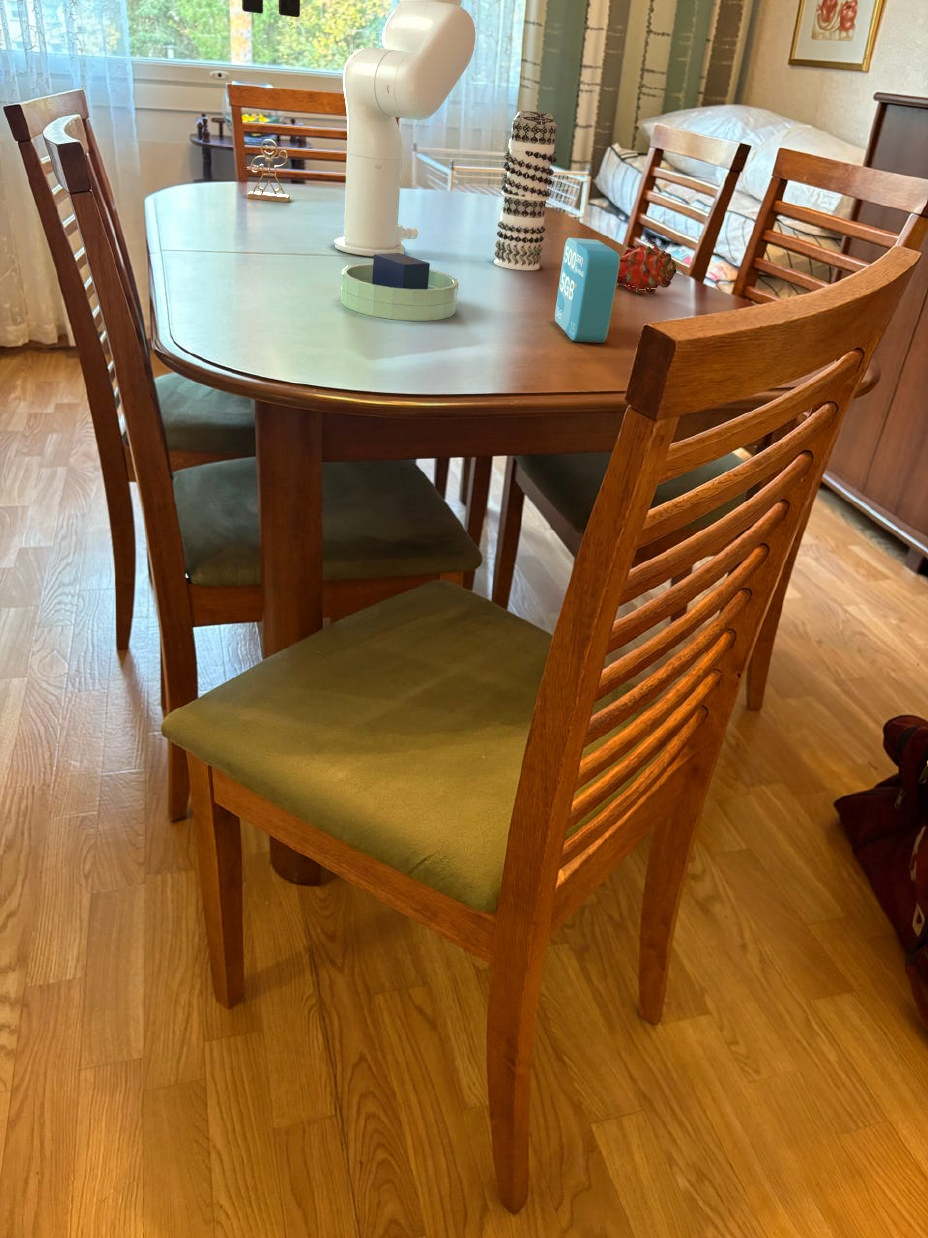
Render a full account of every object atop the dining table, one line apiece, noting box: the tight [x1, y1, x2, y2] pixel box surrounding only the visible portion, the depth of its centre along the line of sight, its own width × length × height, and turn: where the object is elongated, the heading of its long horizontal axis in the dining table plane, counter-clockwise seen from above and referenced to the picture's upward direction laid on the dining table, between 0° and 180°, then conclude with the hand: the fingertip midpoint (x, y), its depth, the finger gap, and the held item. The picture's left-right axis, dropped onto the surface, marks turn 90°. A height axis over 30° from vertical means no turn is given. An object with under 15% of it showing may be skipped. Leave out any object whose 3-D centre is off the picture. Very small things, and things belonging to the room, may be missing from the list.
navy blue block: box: [372, 253, 431, 289], centre depth 136 cm, size 5×7×6 cm, turn 42°
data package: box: [554, 237, 620, 344], centre depth 133 cm, size 12×4×12 cm, turn 10°
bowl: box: [340, 263, 459, 322], centre depth 137 cm, size 16×16×4 cm
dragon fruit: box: [616, 243, 678, 295], centre depth 165 cm, size 8×8×12 cm
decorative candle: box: [493, 110, 558, 271], centre depth 170 cm, size 9×9×25 cm
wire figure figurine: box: [247, 138, 291, 203], centre depth 210 cm, size 9×4×12 cm, turn 94°
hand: (270, 13), depth 138 cm, fingers open, 9 cm apart
